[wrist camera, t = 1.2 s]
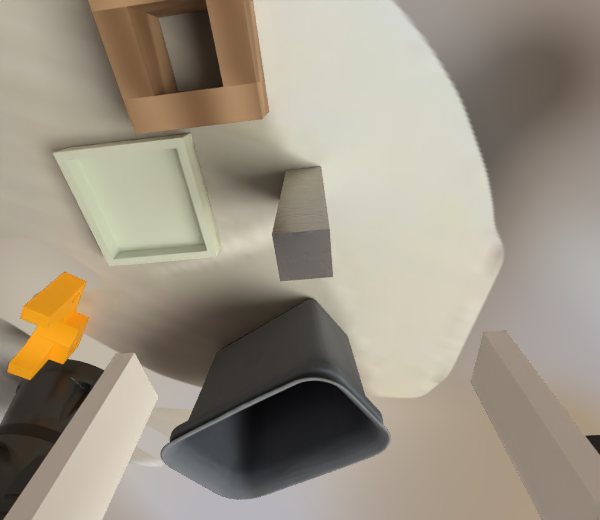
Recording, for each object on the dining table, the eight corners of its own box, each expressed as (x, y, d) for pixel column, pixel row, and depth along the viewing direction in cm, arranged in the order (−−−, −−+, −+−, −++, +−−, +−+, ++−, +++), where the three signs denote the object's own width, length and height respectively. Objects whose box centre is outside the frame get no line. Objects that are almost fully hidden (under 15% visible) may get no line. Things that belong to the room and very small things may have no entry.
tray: (119, 256, 36) (108, 266, 34) (68, 147, 30) (52, 152, 28) (221, 246, 35) (216, 256, 33) (190, 133, 29) (182, 137, 27)
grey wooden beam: (290, 203, 33) (280, 281, 21) (286, 170, 31) (272, 234, 19) (323, 199, 32) (332, 276, 20) (320, 166, 31) (329, 228, 19)
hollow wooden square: (161, 124, 29) (135, 134, 25) (116, -18, 24) (74, -38, 20) (269, 111, 28) (262, 119, 24) (247, -39, 23) (233, -64, 19)
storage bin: (318, 269, 37) (323, 370, 24) (384, 347, 43) (414, 459, 31) (191, 346, 44) (145, 454, 31) (263, 403, 50) (249, 513, 38)
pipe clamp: (78, 345, 44) (45, 385, 39) (45, 333, 43) (6, 371, 38) (101, 288, 39) (67, 324, 33) (64, 271, 38) (23, 306, 32)
